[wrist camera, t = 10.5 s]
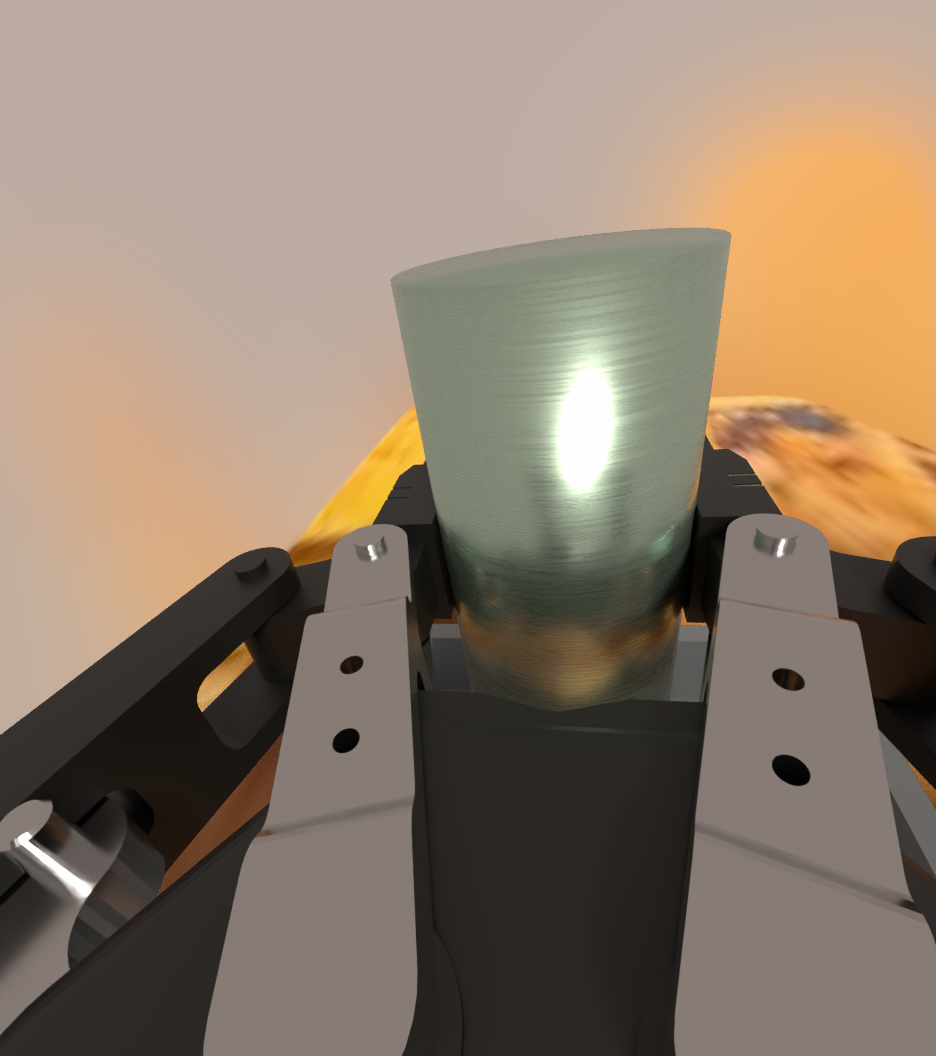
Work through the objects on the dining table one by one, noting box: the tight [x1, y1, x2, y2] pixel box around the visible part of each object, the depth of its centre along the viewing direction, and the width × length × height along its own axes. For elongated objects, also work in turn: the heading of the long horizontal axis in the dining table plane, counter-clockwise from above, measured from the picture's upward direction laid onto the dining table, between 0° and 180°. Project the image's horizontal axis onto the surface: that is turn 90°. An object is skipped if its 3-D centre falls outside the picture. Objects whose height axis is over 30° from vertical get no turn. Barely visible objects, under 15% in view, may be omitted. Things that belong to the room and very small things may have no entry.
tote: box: [430, 624, 936, 880], centre depth 16 cm, size 18×14×4 cm
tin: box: [390, 228, 731, 712], centre depth 10 cm, size 4×4×12 cm
